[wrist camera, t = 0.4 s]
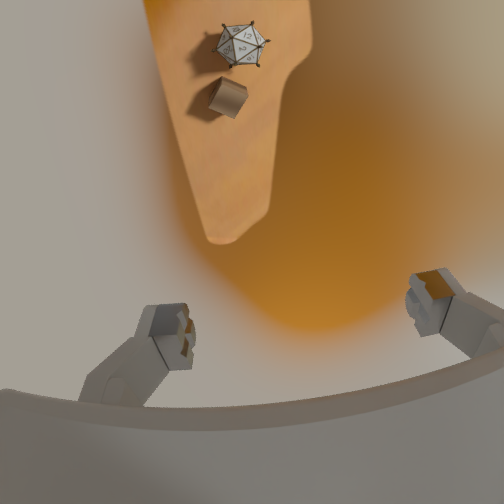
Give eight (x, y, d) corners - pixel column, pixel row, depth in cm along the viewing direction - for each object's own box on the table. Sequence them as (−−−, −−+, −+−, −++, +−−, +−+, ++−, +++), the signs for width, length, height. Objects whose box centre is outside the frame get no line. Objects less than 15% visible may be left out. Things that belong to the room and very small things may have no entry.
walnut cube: (221, 75, 49) (221, 84, 46) (246, 87, 51) (248, 96, 48) (209, 98, 52) (208, 108, 49) (233, 108, 54) (234, 119, 51)
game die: (239, 47, 48) (227, 87, 47) (210, 19, 41) (195, 59, 40) (282, 35, 43) (274, 76, 42) (255, 2, 36) (243, 41, 35)
